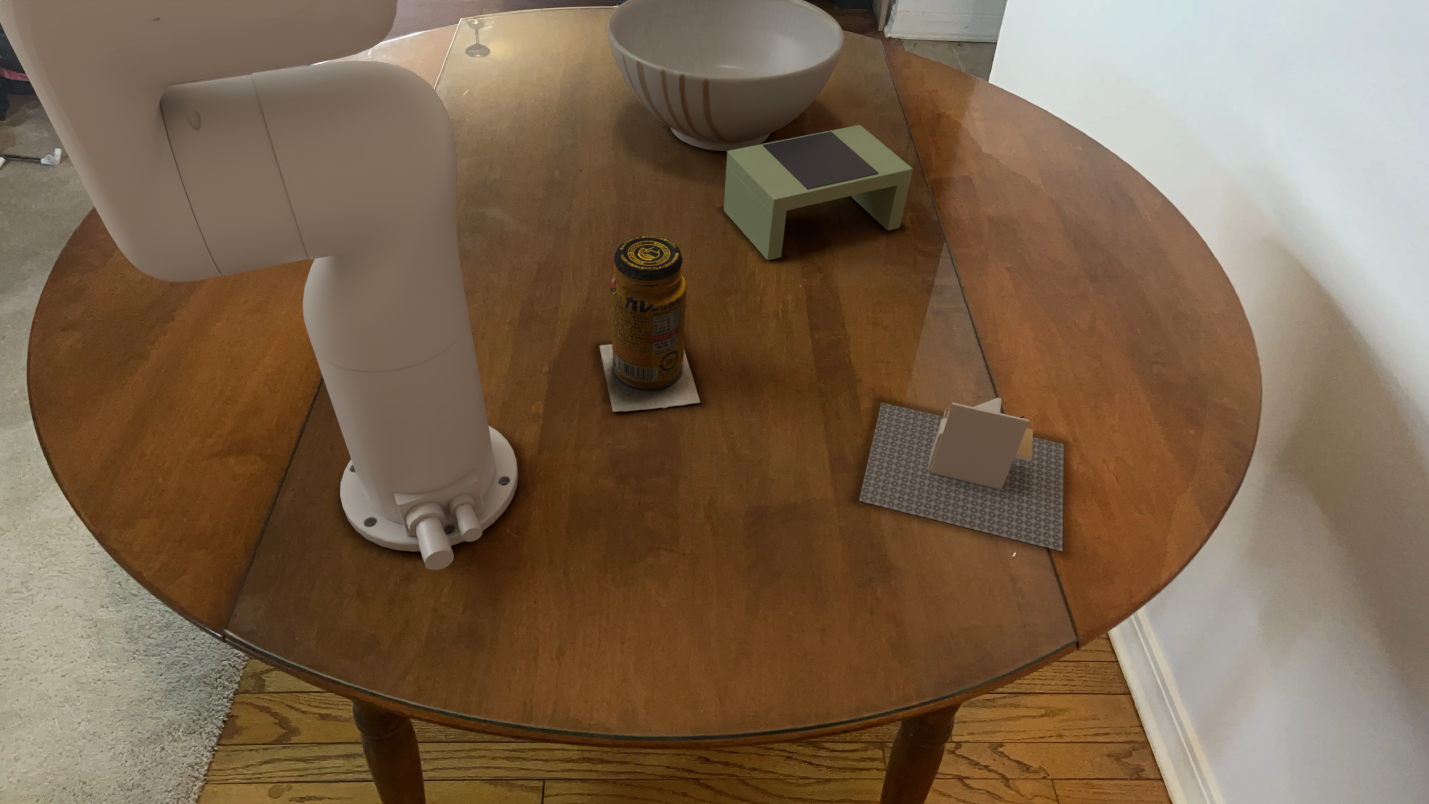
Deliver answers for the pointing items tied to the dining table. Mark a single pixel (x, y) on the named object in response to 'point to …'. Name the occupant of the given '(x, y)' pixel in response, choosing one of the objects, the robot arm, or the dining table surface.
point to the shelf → (812, 181)
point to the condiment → (648, 328)
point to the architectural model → (968, 471)
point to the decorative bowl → (724, 64)
